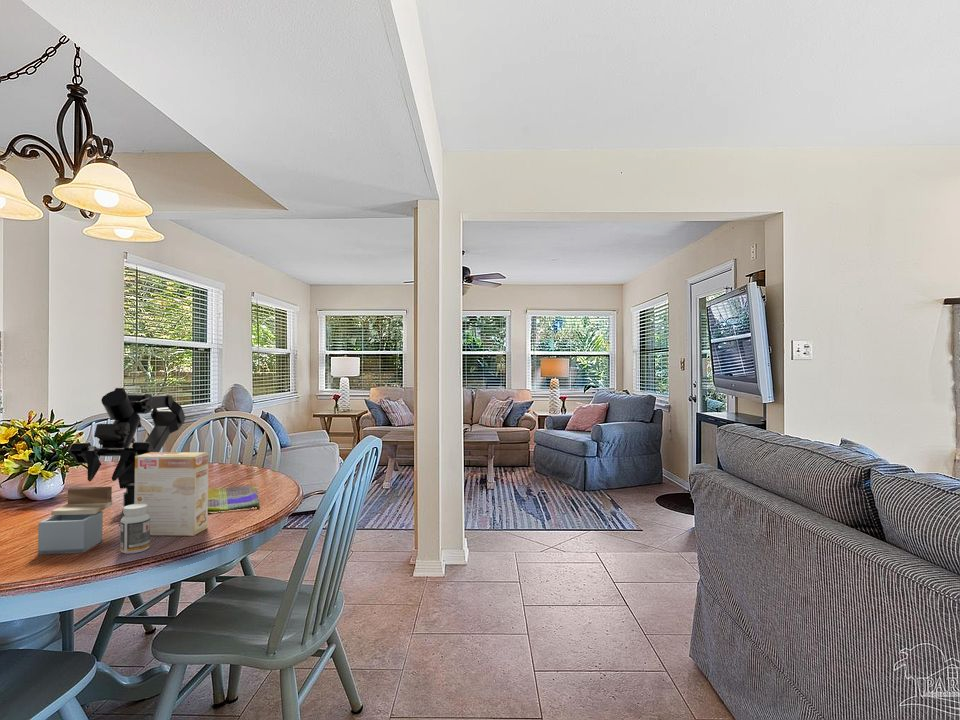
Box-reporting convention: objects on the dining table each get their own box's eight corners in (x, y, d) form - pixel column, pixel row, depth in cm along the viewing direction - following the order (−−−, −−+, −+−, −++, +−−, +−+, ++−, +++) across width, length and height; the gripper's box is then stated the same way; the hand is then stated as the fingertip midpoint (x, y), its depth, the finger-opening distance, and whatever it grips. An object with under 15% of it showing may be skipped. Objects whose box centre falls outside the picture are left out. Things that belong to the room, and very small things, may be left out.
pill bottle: (155, 545, 125) (155, 502, 125) (140, 554, 119) (141, 509, 120) (129, 545, 125) (130, 502, 125) (113, 554, 119) (114, 509, 119)
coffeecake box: (208, 527, 139) (209, 451, 139) (193, 536, 132) (195, 456, 132) (150, 527, 139) (151, 451, 139) (132, 536, 132) (133, 455, 132)
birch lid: (71, 506, 131) (71, 487, 131) (112, 505, 133) (112, 486, 133) (51, 515, 123) (51, 495, 123) (94, 514, 125) (95, 494, 125)
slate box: (59, 542, 127) (60, 512, 127) (102, 540, 128) (102, 511, 128) (37, 554, 119) (38, 522, 119) (83, 552, 120) (84, 520, 120)
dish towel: (192, 517, 150) (192, 507, 150) (198, 497, 172) (198, 488, 172) (260, 511, 157) (260, 501, 157) (258, 492, 179) (258, 484, 179)
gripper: (73, 411, 140) (45, 462, 129) (151, 411, 143) (131, 460, 132) (89, 438, 147) (64, 488, 136) (163, 437, 151) (145, 486, 140)
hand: (100, 480), depth 136 cm, fingers open, 5 cm apart
